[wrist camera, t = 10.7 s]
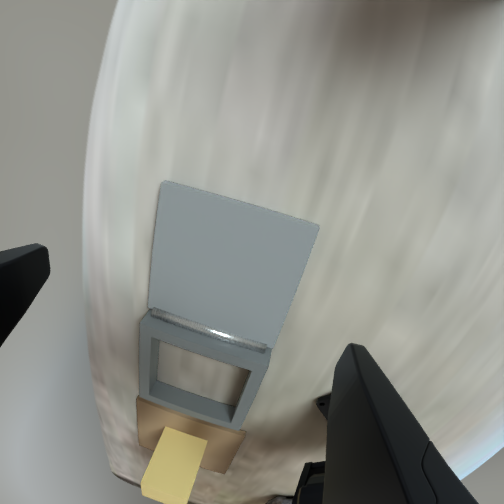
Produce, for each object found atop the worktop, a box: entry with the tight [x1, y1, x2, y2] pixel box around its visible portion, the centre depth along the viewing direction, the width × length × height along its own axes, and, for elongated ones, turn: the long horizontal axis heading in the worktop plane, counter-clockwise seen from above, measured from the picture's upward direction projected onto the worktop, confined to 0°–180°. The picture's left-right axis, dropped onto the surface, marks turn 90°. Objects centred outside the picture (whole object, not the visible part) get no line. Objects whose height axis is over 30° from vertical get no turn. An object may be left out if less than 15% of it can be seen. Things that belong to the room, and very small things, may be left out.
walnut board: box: [136, 395, 246, 474], centre depth 33 cm, size 12×12×1 cm
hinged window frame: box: [139, 180, 319, 431], centre depth 23 cm, size 10×20×2 cm, turn 166°
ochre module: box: [141, 426, 208, 504], centre depth 29 cm, size 5×5×8 cm
